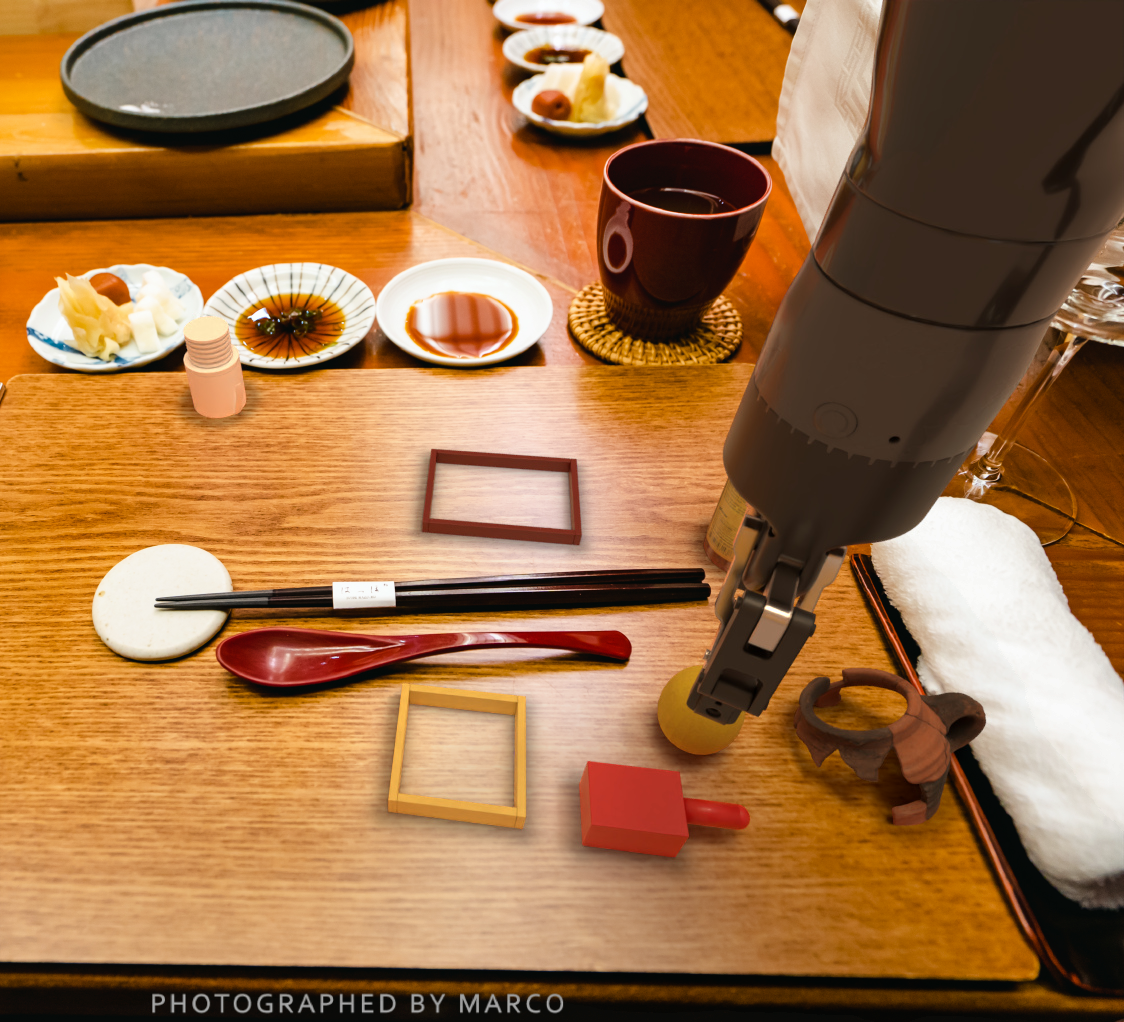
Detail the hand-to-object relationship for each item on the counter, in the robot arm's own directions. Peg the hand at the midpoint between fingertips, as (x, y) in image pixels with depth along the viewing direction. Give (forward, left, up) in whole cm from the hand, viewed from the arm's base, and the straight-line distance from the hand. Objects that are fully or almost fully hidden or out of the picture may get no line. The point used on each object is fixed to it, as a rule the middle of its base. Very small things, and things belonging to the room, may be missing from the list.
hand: (729, 644), depth 40 cm
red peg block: (-1, +1, -21) cm, 21 cm away
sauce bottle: (-11, -25, -21) cm, 35 cm away
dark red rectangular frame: (+10, -29, -21) cm, 37 cm away
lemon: (-4, -6, -21) cm, 22 cm away
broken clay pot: (-17, -6, -21) cm, 28 cm away
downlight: (+41, -41, -21) cm, 62 cm away
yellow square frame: (+13, -2, -21) cm, 24 cm away
